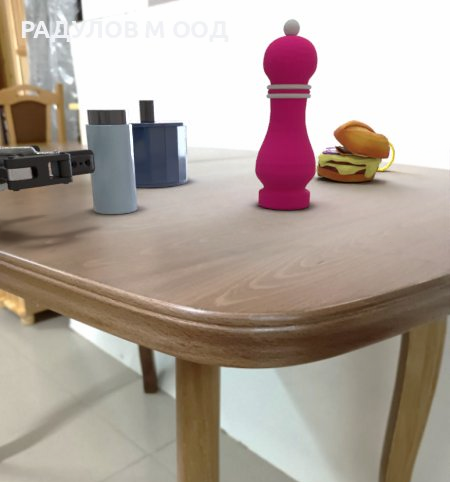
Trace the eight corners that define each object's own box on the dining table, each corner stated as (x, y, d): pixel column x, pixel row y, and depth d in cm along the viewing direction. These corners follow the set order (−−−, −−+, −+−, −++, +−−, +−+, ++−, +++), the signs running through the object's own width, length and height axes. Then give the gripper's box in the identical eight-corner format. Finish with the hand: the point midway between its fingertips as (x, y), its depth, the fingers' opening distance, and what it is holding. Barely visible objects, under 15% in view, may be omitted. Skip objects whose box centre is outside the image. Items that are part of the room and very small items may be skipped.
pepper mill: (323, 203, 61) (336, 20, 53) (296, 213, 55) (308, 11, 48) (272, 197, 65) (278, 26, 57) (243, 206, 59) (245, 17, 52)
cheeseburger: (329, 172, 87) (347, 114, 82) (384, 192, 82) (407, 132, 77) (301, 177, 79) (320, 114, 74) (360, 200, 74) (384, 134, 70)
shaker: (85, 211, 56) (73, 109, 52) (111, 204, 60) (103, 109, 56) (120, 215, 54) (112, 109, 50) (145, 207, 58) (139, 109, 54)
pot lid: (89, 130, 71) (86, 100, 70) (137, 126, 82) (136, 100, 80) (161, 132, 67) (160, 99, 65) (203, 128, 77) (202, 100, 75)
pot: (99, 184, 75) (94, 125, 71) (141, 175, 84) (138, 123, 81) (163, 189, 70) (160, 127, 67) (200, 179, 80) (199, 124, 77)
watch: (358, 171, 89) (362, 136, 87) (358, 169, 92) (361, 135, 89) (393, 172, 88) (397, 137, 86) (391, 170, 90) (395, 136, 88)
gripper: (-74, 128, 33) (108, 120, 45) (-159, 123, 40) (17, 117, 52) (-50, 237, 35) (115, 202, 48) (-134, 213, 43) (28, 188, 55)
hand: (64, 158), depth 50 cm, fingers open, 8 cm apart
